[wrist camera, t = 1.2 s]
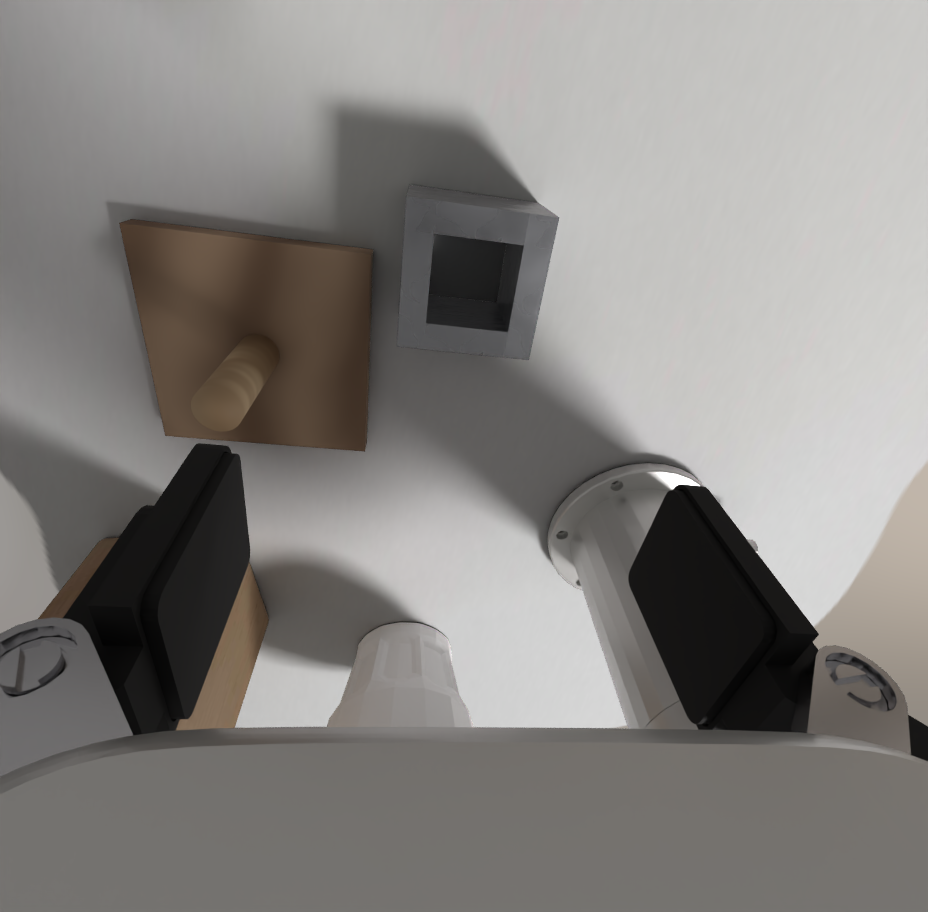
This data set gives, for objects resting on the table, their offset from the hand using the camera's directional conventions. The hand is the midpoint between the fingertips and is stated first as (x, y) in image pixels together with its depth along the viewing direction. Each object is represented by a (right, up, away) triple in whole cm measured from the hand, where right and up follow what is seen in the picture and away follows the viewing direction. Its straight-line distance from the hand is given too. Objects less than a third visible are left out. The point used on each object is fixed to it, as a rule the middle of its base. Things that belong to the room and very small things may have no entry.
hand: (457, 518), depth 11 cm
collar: (0, +12, +16) cm, 20 cm away
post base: (-11, +8, +18) cm, 23 cm away
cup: (-5, -16, +35) cm, 39 cm away
